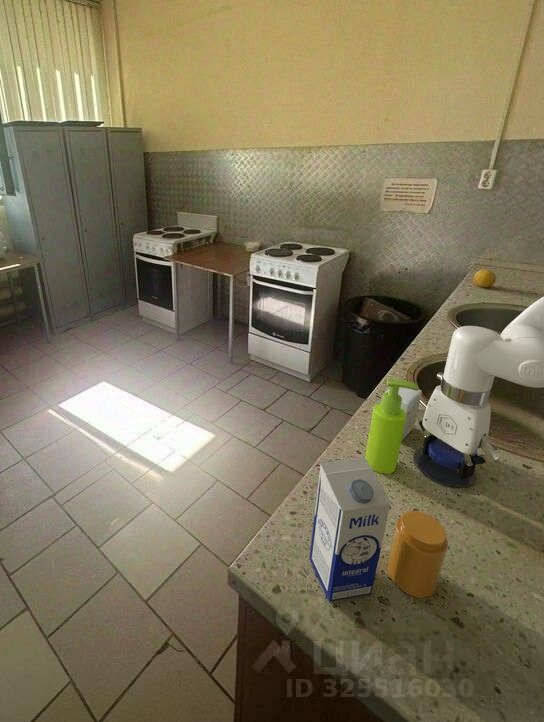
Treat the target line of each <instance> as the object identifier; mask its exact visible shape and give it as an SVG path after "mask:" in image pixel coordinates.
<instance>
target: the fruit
mask: <svg viewBox="0 0 544 722" xmlns="http://www.w3.org/2000/svg"><path fill="white" fill-rule="evenodd" d="M472 278H473V279H472V280H473V283H474V285H475V286H477V287H480V288H490V287H492V286H493V285H494V284H495V283H496V281H497V280H496V279H497V276H496V273H495V272H493V271H491V270H489V269H481V270H478V271H476V273H474V275H473V277H472Z"/></svg>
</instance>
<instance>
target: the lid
mask: <svg viewBox="0 0 544 722" xmlns="http://www.w3.org/2000/svg"><path fill="white" fill-rule="evenodd" d="M428 454H429V455H430V457H431V458H432V459H433V460H434V461H435V462H437V463H438V464H440V465H442V466H444V467H447V468H451V469H460V466H461V463H462V462H463V461H465V459H464V455H463V453H462V452H460V451H458V450H457V449H455V448H453V447H452V446H450V445H449V444H447V443H445V442H444V441H442V440H441V439H439V438H438V439H434V440H432V441H431V442H430V444H429V447H428Z"/></svg>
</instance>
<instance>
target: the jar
mask: <svg viewBox="0 0 544 722" xmlns="http://www.w3.org/2000/svg"><path fill="white" fill-rule="evenodd" d="M448 548H449V541H448V538H447V534H446V530H445V528H444V527H443V525H442V524H441V522H439V520H437V519H436V518H435V517H433V516H432V515H430V514H428V513H426V512H423V511H419V510H409V511H406V512H404V513H403V514H402V515H401V516H400V517H399V518H398V519H397V521H396V524H395V529H394V534H393V537H392V542H391V546H390V550H389V556H388V560H387V564H386V565H387V567H386V568H387V569H386V570H387V573H388V576H389V577H390V579H391V581H392V583H394V584H395V585H396V586H397V588H399V589H400V591H402V592H404V593H406V594H408V595H410V596H413V597H415V598H421V599H423V598H428V597H431V596H432V595H433V594H434V593H435V592H436V588H437V586H438V582H439V579H440V575H441V572H442V569H443V566H444V562H445V558H446V555H447V552H448Z"/></svg>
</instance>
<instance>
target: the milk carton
mask: <svg viewBox="0 0 544 722" xmlns="http://www.w3.org/2000/svg"><path fill="white" fill-rule="evenodd" d="M319 465H320V466H319V475H318V484H317V491H316V498H315V499H316V500H315V502H316V503H315V507H314V516H313V517H314V518H313V525H312V534H311V540H310V541H311V543H310V549H309V561H310V564H311V566H312V567H313V570H314V572H315V574H316V576H317V578H318V581H319V583H320V585H321V587H322V589H323V592H324V594H325V596H326V598H327V600H328V602H334V601H340V600H344V599H345V600H346V599H350V598H356V597H361V596H367V595H372V593H373V588H374V583H375V579H376V574H377V569H378V564H379V559H380V555H381V549H382V546H383V540H384V535H385V532H386V527H387V526H386V525H387V522H388V517H389V512H390V508H391V504H392V501H391V499H390V498H389V496H388V494H387V492H386V491H385V489H384V486H383V485H382V484H381V482H380V480H379V478H378V476H377V474H376V472H375V471H374V470H373V469H372V468H371V467H370V465H369V463H368V462H367V460H366V459H365V456H359V457H353V458H345V459H338V460H332V461H324V462H323V461H322V462H320V463H319Z"/></svg>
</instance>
